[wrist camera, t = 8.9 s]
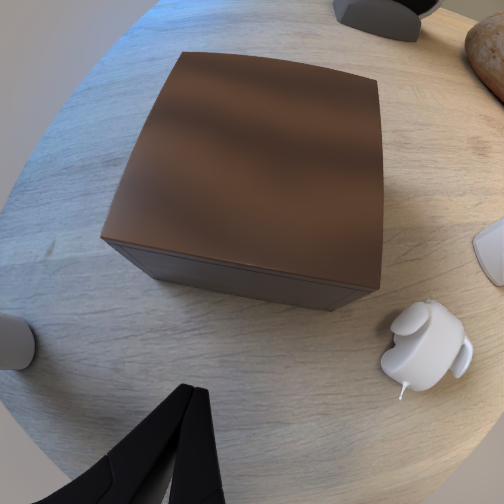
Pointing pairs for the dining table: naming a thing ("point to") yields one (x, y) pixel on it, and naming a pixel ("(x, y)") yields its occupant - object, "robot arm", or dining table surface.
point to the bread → (488, 52)
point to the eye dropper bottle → (491, 251)
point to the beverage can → (15, 343)
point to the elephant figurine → (426, 346)
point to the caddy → (240, 281)
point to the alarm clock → (386, 16)
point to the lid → (259, 171)
